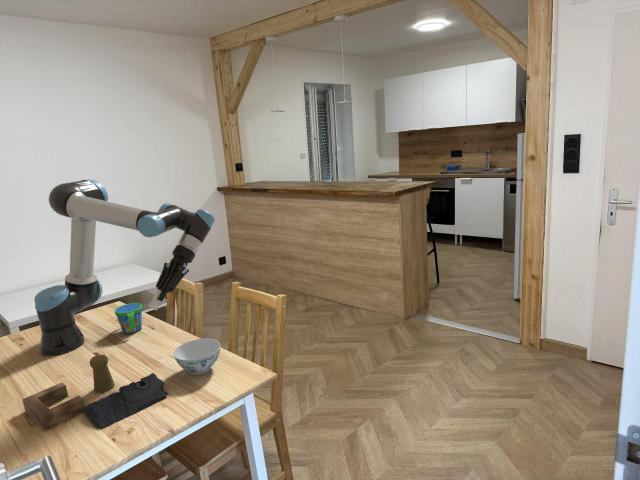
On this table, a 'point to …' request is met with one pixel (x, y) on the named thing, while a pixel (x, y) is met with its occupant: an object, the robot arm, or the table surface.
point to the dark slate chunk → (126, 401)
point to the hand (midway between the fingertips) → (152, 308)
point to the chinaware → (197, 355)
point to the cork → (101, 374)
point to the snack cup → (130, 317)
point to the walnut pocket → (57, 414)
